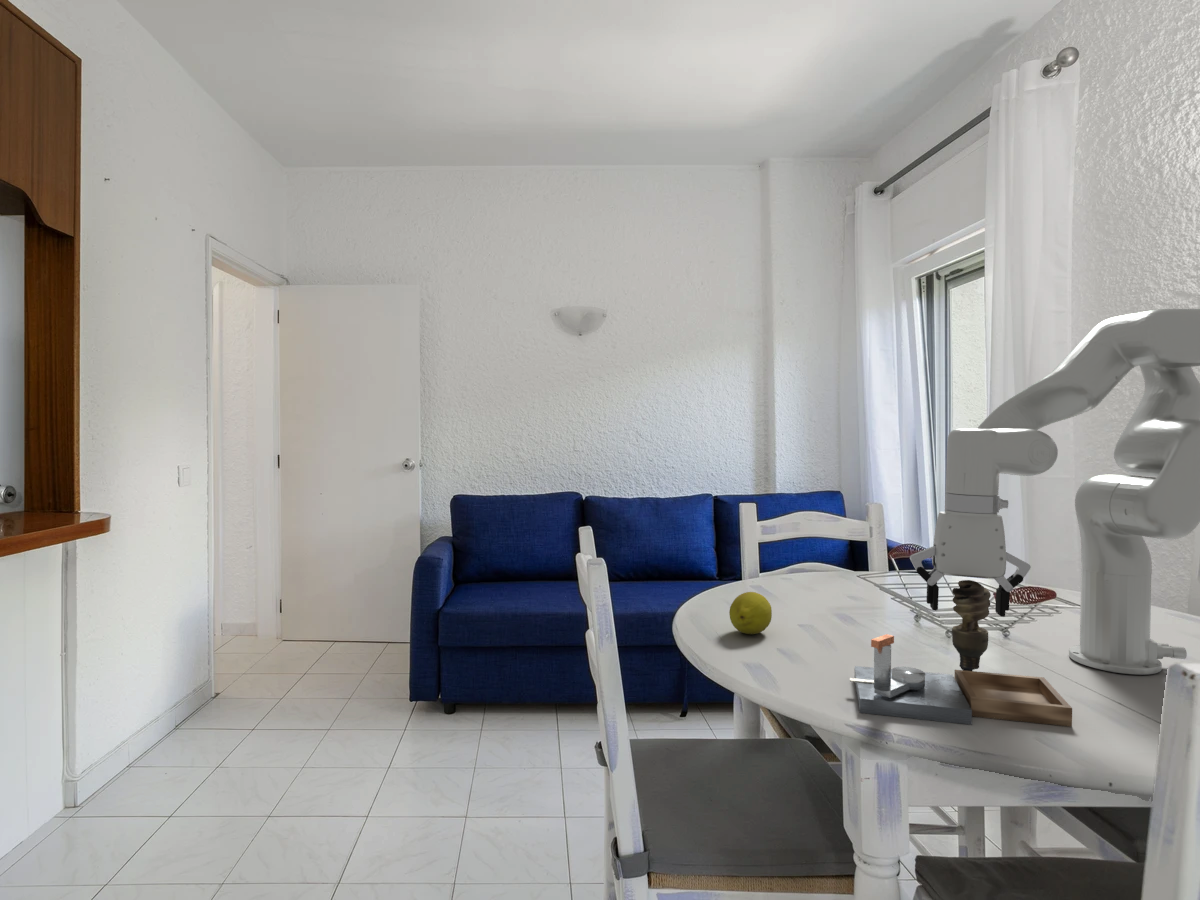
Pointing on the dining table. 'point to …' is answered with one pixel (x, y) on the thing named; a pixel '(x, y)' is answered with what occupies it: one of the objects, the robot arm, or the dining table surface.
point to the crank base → (915, 699)
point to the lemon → (750, 613)
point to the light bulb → (970, 623)
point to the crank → (900, 675)
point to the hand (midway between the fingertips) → (966, 611)
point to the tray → (1013, 698)
